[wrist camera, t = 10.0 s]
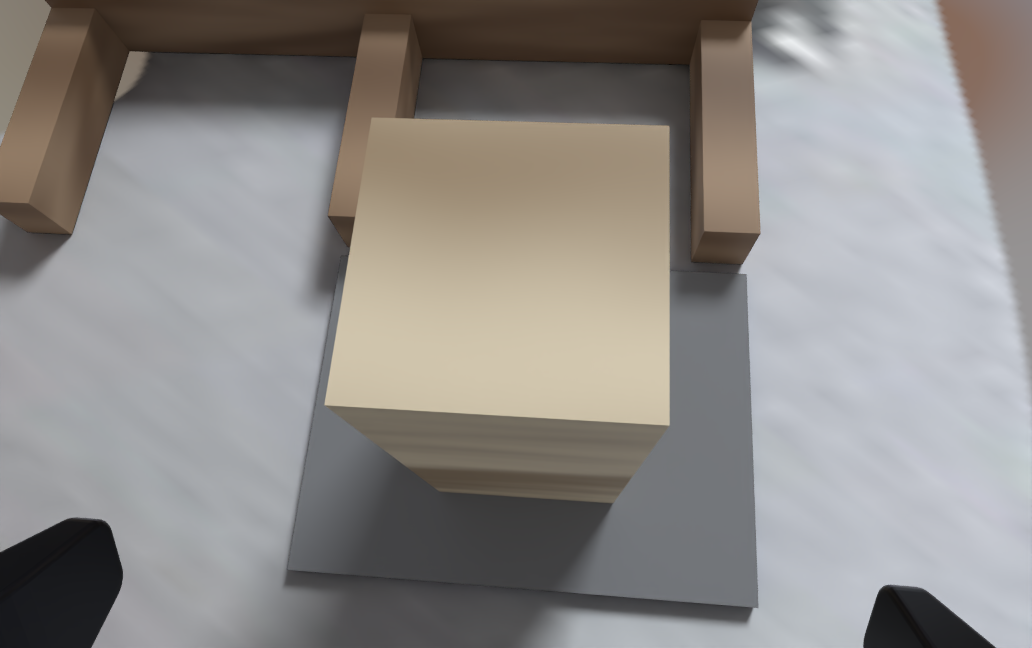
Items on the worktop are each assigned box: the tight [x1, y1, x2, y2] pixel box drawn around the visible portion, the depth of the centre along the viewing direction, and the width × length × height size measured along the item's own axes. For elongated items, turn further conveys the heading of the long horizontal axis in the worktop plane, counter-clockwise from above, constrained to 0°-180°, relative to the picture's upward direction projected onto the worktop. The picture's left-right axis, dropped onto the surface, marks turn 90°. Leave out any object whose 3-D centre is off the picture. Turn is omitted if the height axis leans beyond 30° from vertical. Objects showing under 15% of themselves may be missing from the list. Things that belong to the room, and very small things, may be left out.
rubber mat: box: [287, 256, 758, 608], centre depth 20 cm, size 9×12×1 cm
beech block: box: [324, 118, 670, 503], centre depth 15 cm, size 5×5×10 cm
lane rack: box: [0, 0, 760, 264], centre depth 22 cm, size 9×22×3 cm, turn 86°
